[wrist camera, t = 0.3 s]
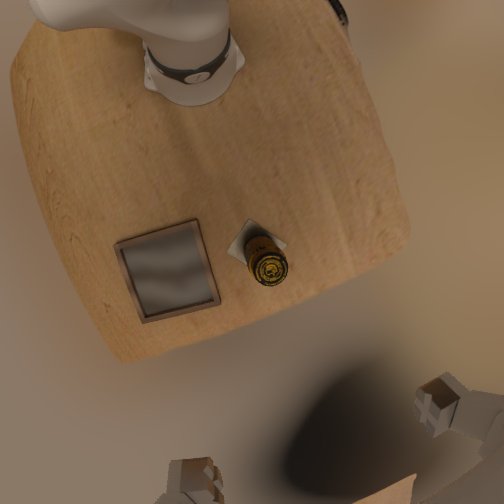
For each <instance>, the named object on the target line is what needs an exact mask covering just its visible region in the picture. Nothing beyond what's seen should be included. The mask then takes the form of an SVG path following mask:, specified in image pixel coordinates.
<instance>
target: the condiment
mask: <svg viewBox="0 0 504 504" xmlns="http://www.w3.org/2000/svg"><path fill="white" fill-rule="evenodd" d="M285 246H286V244H285V243H283V242H282V241H281V240H279V239H278V238H276V237H275V236H273V235H272V234H271V233H269V232H268V231H266V230H265V229H263V228H262V227H260V226H259V225H258V224H256V223H255V222H253V221H252V220H250V219H249V220H248V222H247V223H246V224H245V226H244V227H243V229H242V230H241V231H240V233H239V234H238V236H237V237H236V238H235V240H234V242H233V243H232V244H231V246H230V247H229V249H228V250H227V253H229V254H230V255H232V256H233V257H235V258H236V259H238V260H239V261H241V262H243V263H244V264H246V265H247V266H248V269H249V271H250V273H251V275H252V276H253V277H254V278H255V279H256V280H257V281H258V282H259V283H261V284H262V285H265V286H275V285H278V284H280V283H281V282H282V281H283V280H284V279H285V278H286V276H287V273H288V263H287V260H286V257H285V255H284V253H283V252H282V251H283V249H284V248H285ZM242 248H243V249H242ZM242 250H243V251H242Z"/></svg>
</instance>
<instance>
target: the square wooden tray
mask: <svg viewBox="0 0 504 504" xmlns="http://www.w3.org/2000/svg"><path fill="white" fill-rule="evenodd" d="M113 247H114V250H115V253H116V256H117V259H118V262H119V265H120V268H121V271H122V273H123V276H124V279H125V282H126V284H127V287H128V290H129V292H130V295H131V298H132V300H133V303H134V305H135V308H136V310H137V313H138V315H139V318H140V320H141V322H142V324H145V323H149V322H153V321H158V320H162V319H166V318H170V317H174V316H179V315H183V314H187V313H191V312H195V311H199V310H203V309H207V308H211V307H215V306H218V305H221V298H220V295H219V292H218V289H217V285H216V282H215V279H214V275H213V272H212V269H211V265H210V262H209V259H208V255H207V252H206V248H205V245H204V241H203V238H202V234H201V231H200V227H199V224H198V220H197V219H195V220H191V221H188V222H184V223H181V224H177V225H174V226H170V227H167V228H164V229H160V230H157V231H154V232H150V233H147V234H144V235H140V236H137V237H134V238H131V239H127V240H124V241H121V242H118V243H116V244H114V245H113Z"/></svg>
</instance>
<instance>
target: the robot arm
mask: <svg viewBox="0 0 504 504" xmlns="http://www.w3.org/2000/svg"><path fill="white" fill-rule="evenodd" d="M28 1H29V5H30V8H31V10H32V12H33V13H34V15H35V16H36V17H37V19H38V20H39V21H40V22H42V23H43V24H45V25H46V26H48V27H50V28H52V29H55V30H58V31H62V32H66V31H71V30H77V29H85V28H108V29H116V30H121V31H125V32H128V33H132V34H134V35H137V36H139V37H141V38H142V39H143V49H144V50H146V55H145V56H144V60H145V77H144V85H145V87H146V89H148V90H150V91H154V92H158V93H160V94H162V95H163V96H165V97H166V98H167V99H168V100H170V101H172V102H174V103H176V104H179V105H184V106H198V105H203V104H207V103H209V102H212V101H214V100H215V99H217V98H218V97H220V96H221V95H222V94H223V93H224V92H225V91H226V90H227V89H228V87H229V86H230V84H231V82H232V80H233V77H234V75H235V74H236V73H237V72H238V71H239V70H240V69H241V68H242V67H243V66H244V65H245V58H244V56H243V54H242V52H241V51H240V49H239V47H238V45H237V44H236V42H235V40H234V38H233V37H232V35H231V33H230V29H229V18H230V7H229V4H228V1H227V0H28ZM149 78H150V79H149ZM415 396H416V397H417V399H416V400H415V402H414V406H413V409H414V413H415V415H416V417H417V419H418V420H419V421H420V422H423V423H425V429H426V430H427V431H428V433H429V434H430V435H431V436H432V438H434V437H436V436H437V435H439V434H441V433H442V432H444V431H446V430H448V429H449V428H450V430H452V431H455V432H458V433H461V434H464V435H467V436H469V437H472V438H475V439H478V440H481V441H484V442H483V444H482V446H481V447H480V449H479V454H480V456H481V457H482V458H483V460H482V461H481V462H479V463H478V464H477V465H476V466H474V467H473V468H472V469H470V470H469V471H468V472H466V473H465V474H463V475H462V476H461V477H459V478H458V479H457V480H455V481H453V482H452V483H450V484H449V485H447V486H446V487H444V488H443V489H441V490H439V491H438V492H436V493H434V494H433V495H431V496H429V497H428V498H426V499H424V500H423V501H421V502H419V503H417V504H504V395H499V394H493V393H487V392H481V391H475V390H472V391H471V392H470V391H469V390H468V389H467V388H466V387H465V386H464V385H462V384H461V383H460V382H459V381H458V380H457V379H456V378H455V377H454V376H452V375H451V374H450V373H449V372H445V373H443V374H442V375H440V376H439V377H437V378H435V379H433V380H431V381H429V382H428V383H426V384H424V385H422V386H420V387H419V388H417V390H416V392H415ZM222 488H223V480H222V476H221V473H220V471H219V469H218V467H216V466H214V465H213V460H212V459H211V457H202V458H193V459H182V460H171V462H170V464H169V471H168V481H167V492H166V494H162V495H161V496H160V497H159V499H158V500H157V501H156V502H155V503H154V504H224V495H223V494H222V493H221V492H220V491H221V489H222Z"/></svg>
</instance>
